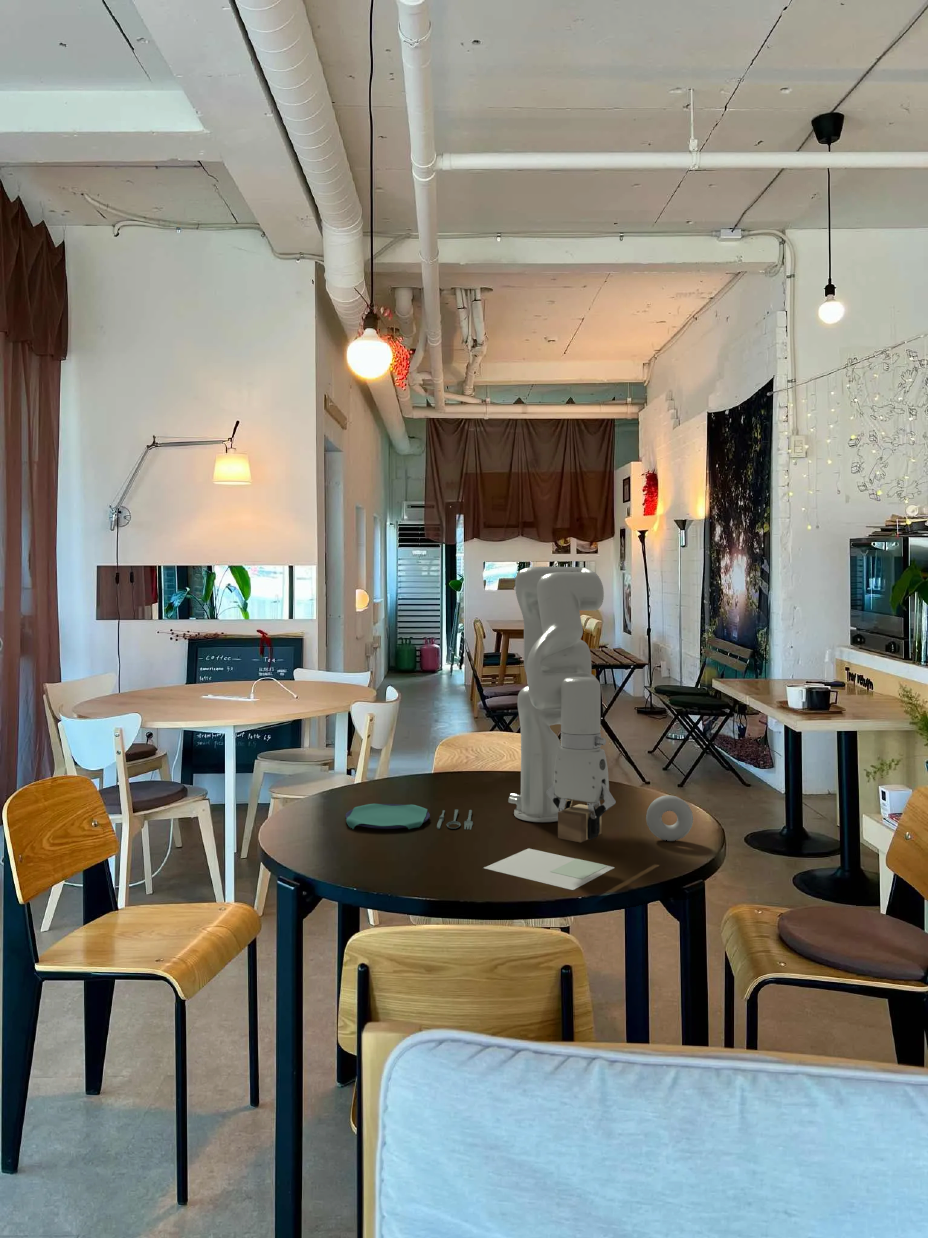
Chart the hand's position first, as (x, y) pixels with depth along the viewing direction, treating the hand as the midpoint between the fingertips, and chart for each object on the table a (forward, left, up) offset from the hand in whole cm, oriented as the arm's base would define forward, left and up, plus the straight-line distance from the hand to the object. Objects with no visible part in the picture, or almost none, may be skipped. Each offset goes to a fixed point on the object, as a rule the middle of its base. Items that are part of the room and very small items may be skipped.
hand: (579, 834), depth 170 cm
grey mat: (-5, -3, -7) cm, 9 cm away
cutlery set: (-50, +7, -8) cm, 51 cm away
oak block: (0, 0, 0) cm, 0 cm away
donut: (+5, +30, -8) cm, 32 cm away
